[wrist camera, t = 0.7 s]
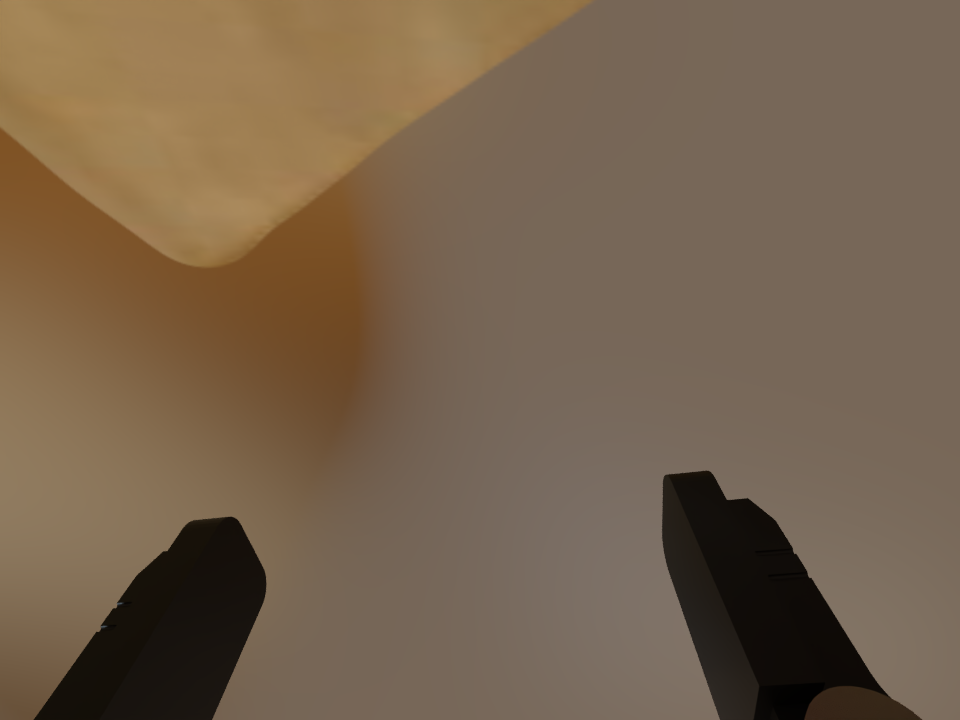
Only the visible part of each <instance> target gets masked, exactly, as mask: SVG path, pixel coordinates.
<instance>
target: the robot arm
mask: <svg viewBox="0 0 960 720" xmlns="http://www.w3.org/2000/svg"><path fill="white" fill-rule="evenodd" d="M662 539H663V548H664V554H665V559H666V563H667V567H668V570H669V573H670V576H671V579H672V582H673V585H674V588H675V591H676V594H677V597H678V599H679V602H680V605H681V608H682V611H683V614H684V617H685V620H686V623H687V626H688V628H689V631H690V634H691V637H692V640H693V643H694V645H695V649H696V651H697V654H698V657H699V660H700V663H701V666H702V669H703V672H704V674H705V677H706V680H707V683H708V686H709V689H710V692H711V695H712V698H713V701H714V704H715V706H716V709H717V712H718V715H719V718H720V720H922V719H921V718H920V717H918V716H917V715H916V714H914V712H912V711H911V710H909V709H908V708H906V707H905V706H903V705H902V704H900V703H899V702H897V701H895V700H893V699H891V698H890V697H889V696H888V695H887V693H886V692H885V691H884V690H883V689H882V688H881V687H880V686H879V684H878V683H877V681H876V680H875V679H874V677H873V676H872V674H871V673H870V672H869V670H868V668H867V667H866V665H865V663H864V662H863V660H862V658H861V657H860V655H859V654H858V652H857V650H856V649H855V647H854V646H853V644H852V643H851V641H850V639H849V638H848V636H847V634H846V633H845V631H844V630H843V628H842V627H841V625H840V623H839V622H838V620H837V618H836V617H835V615H834V614H833V612H832V610H831V609H830V607H829V606H828V604H827V602H826V601H825V599H824V598H823V596H822V594H821V593H820V591H819V590H818V588H817V586H816V585H815V583H814V581H813V580H812V578H809V577H808V573H807V571H806V569H805V567H804V565H803V564H802V562H801V561H800V559H799V557H798V556H797V554H794V552H793V548H792V546H791V545H790V543H789V542H788V540H787V538H786V537H785V535H784V533H783V532H782V530H781V529H780V527H779V525H778V524H777V522H776V521H775V520H774V519H773V518H772V517H771V516H769V515H768V514H767V513H766V512H764V511H763V510H762V509H761V508H759V507H758V506H757V505H756V504H754V503H753V502H752V501H751V500H749V499H748V498H747V499H735V500H727V499H726V498H725V496H724V494H723V492H722V490H721V488H720V486H719V485H718V483H717V481H716V479H715V477H714V475H713V474H712V473H711V472H710V471H700V472H690V473H680V474H669V475H665V476H664V479H663V519H662ZM265 593H266V575H265V571H264V569H263V567H262V564H261V563H260V561H259V559H258V557H257V555H256V553H255V551H254V549H253V547H252V545H251V543H250V541H249V540H248V537H247V536H246V534H245V532H244V530H243V528H242V526H241V524H240V523H239V521H238V520H237V519H235V518H234V517H222V518H212V519H203V520H194V521H191V522H189V523H188V524H187V525H185V527H184V528H183V529H182V530H181V532H180V533H179V535H178V536H177V538H176V539H175V541H174V543H173V544H172V545H171V547H170V548H169V550H168V551H164V552H162V553H161V554H160V555H159V556H158V557H157V558H156V559H154V560H153V561H152V562H151V563H150V564H149V565H148V566H147V567H146V568H145V569H143V570H142V571H141V572H140V573H139V574H138V575H137V576H136V577H135V579H134V580H133V581H132V583H131V584H130V586H129V587H128V588H127V590H126V591H125V593H124V594H123V595H122V597H121V598H120V600H119V601H118V602H117V608H114V609H112V611H111V612H110V614H109V615H108V616H107V618H106V619H105V621H104V622H103V623H102V625H101V630H100V632H96V633H95V635H94V636H93V637H92V639H91V640H90V642H89V643H88V644H87V646H86V647H85V649H84V650H83V652H82V653H81V654H80V656H79V657H78V658H77V660H76V662H75V663H74V664H73V666H72V667H71V669H70V670H69V671H68V673H67V674H66V676H65V677H64V678H63V680H62V681H61V682H60V684H59V685H58V687H57V688H56V689H55V691H54V692H53V694H52V695H51V696H50V698H49V699H48V701H47V702H46V703H45V705H44V706H43V708H42V709H41V710H40V712H39V713H38V715H37V716H36V717H35V719H34V720H212V718H213V716H214V714H215V712H216V709H217V707H218V705H219V702H220V700H221V698H222V696H223V693H224V691H225V689H226V686H227V684H228V682H229V680H230V677H231V675H232V673H233V671H234V668H235V666H236V664H237V661H238V659H239V657H240V654H241V652H242V650H243V647H244V645H245V643H246V641H247V638H248V636H249V634H250V632H251V629H252V627H253V625H254V623H255V620H256V618H257V616H258V613H259V611H260V609H261V607H262V604H263V601H264V598H265Z"/></svg>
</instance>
